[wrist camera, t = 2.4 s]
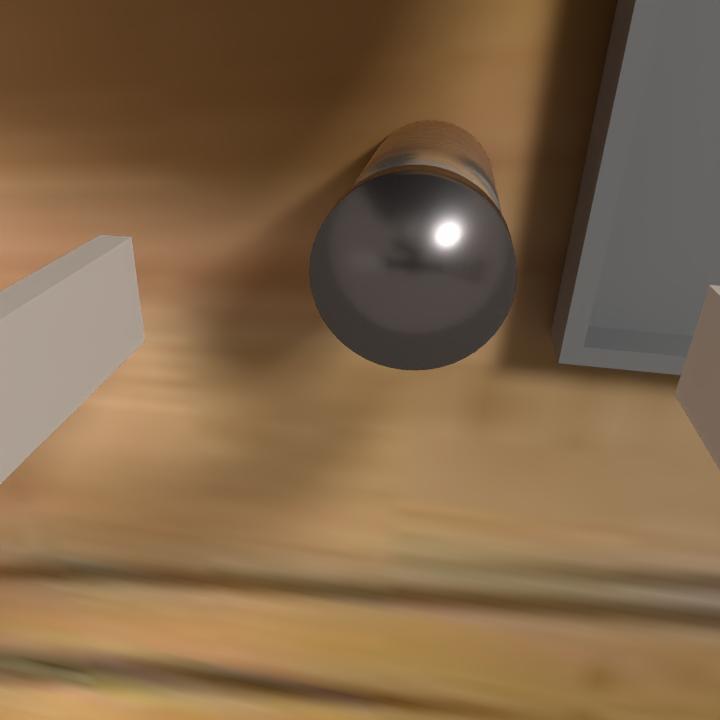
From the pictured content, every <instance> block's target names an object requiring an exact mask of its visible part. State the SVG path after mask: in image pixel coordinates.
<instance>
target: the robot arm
mask: <svg viewBox="0 0 720 720" xmlns="http://www.w3.org/2000/svg"><path fill="white" fill-rule="evenodd" d="M144 342H145V336H144V328H143V321H142V313H141V306H140V298H139V290H138V283H137V275H136V268H135V260H134V252H133V245H132V237H126V236H114V235H102V234H101V235H99V236H97V237H96V238H94V239H92V240H90V241H88V242H87V243H85V244H83V245H81V246H80V247H78V248H76V249H74V250H73V251H71V252H69V253H67V254H66V255H64V256H62V257H60V258H59V259H57V260H55V261H53V262H51V263H50V264H48V265H46V266H44V267H43V268H41V269H39V270H37V271H36V272H34V273H32V274H30V275H29V276H27V277H25V278H23V279H22V280H20V281H18V282H16V283H14V284H13V285H11V286H9V287H7V288H6V289H4V290H2V291H0V484H1V483H2V482H3V481H4V480H5V479H6V478H7V477H8V476H9V475H10V474H11V473H12V472H13V471H14V470H15V469H16V468H17V467H18V466H19V465H20V464H21V463H22V462H23V461H24V460H25V459H26V458H27V457H28V456H29V455H30V454H31V453H32V452H33V451H34V450H35V449H36V448H37V447H38V446H39V445H40V444H41V443H42V442H43V441H44V440H45V439H46V438H47V437H49V436H50V435H51V434H52V433H53V432H54V431H55V430H56V429H57V428H58V427H59V426H60V425H61V424H62V423H63V422H64V421H65V420H66V419H67V418H68V417H69V416H70V415H71V414H72V413H73V412H74V411H75V410H76V409H77V408H78V407H79V406H80V405H81V404H82V403H83V402H84V401H85V400H86V399H87V398H88V397H89V396H90V395H91V394H92V393H93V392H94V391H95V390H96V389H97V388H98V387H99V386H100V385H101V384H102V383H103V382H104V381H105V380H106V379H107V378H108V377H109V376H110V375H111V374H112V373H113V372H114V371H115V370H116V369H117V368H118V367H119V366H120V365H121V364H122V363H123V362H124V361H126V360H127V359H128V358H129V357H130V356H131V355H132V354H133V353H134V352H135V351H136V350H137V349H138V348H139V347H140V346H141V345H142V344H143V343H144ZM675 396H676V397H677V399H678V401H679V402H680V404H681V406H682V408H683V409H684V411H685V413H686V414H687V416H688V418H689V419H690V421H691V423H692V424H693V426H694V428H695V429H696V431H697V433H698V434H699V436H700V438H701V440H702V441H703V443H704V445H705V446H706V448H707V450H708V451H709V453H710V455H711V456H712V458H713V460H714V461H715V463H716V465H717V467H718V468H719V470H720V286H716V285H709V288H708V291H707V294H706V297H705V300H704V303H703V307H702V310H701V313H700V316H699V319H698V322H697V326H696V329H695V332H694V335H693V338H692V341H691V345H690V348H689V351H688V354H687V357H686V360H685V363H684V367H683V370H682V373H681V376H680V379H679V382H678V386H677V389H676V392H675Z"/></svg>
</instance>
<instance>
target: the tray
mask: <svg viewBox="0 0 720 720" xmlns="http://www.w3.org/2000/svg"><path fill="white" fill-rule="evenodd" d="M709 285H716V286H720V0H618V1H617V6H616V11H615V16H614V20H613V25H612V30H611V35H610V40H609V45H608V50H607V55H606V60H605V65H604V70H603V75H602V80H601V85H600V90H599V95H598V100H597V105H596V110H595V115H594V120H593V125H592V130H591V135H590V140H589V145H588V150H587V154H586V159H585V164H584V169H583V174H582V179H581V184H580V189H579V194H578V199H577V204H576V209H575V214H574V219H573V224H572V229H571V234H570V239H569V244H568V249H567V254H566V259H565V264H564V269H563V274H562V279H561V284H560V288H559V293H558V298H557V303H556V308H555V313H554V318H553V323H552V328H551V333H550V336H551V339H552V343H553V346H554V350H555V353H556V357H557V360H558V363H561V364H571V365H581V366H592V367H602V368H612V369H622V370H632V371H642V372H653V373H663V374H673V375H681V373H682V370H683V367H684V363H685V360H686V357H687V354H688V351H689V348H690V345H691V341H692V338H693V335H694V332H695V329H696V326H697V322H698V319H699V316H700V313H701V310H702V307H703V303H704V300H705V297H706V294H707V291H708V288H709Z"/></svg>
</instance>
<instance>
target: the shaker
mask: <svg viewBox="0 0 720 720" xmlns="http://www.w3.org/2000/svg"><path fill="white" fill-rule="evenodd" d="M516 279H517V269H516V259H515V254H514V249H513V245H512V240H511V236H510V233H509V230H508V227H507V224H506V222H505V220H504V218H503V216H502V213H501V209H500V204H499V199H498V195H497V190H496V185H495V181H494V176H493V171H492V167H491V164H490V161H489V158H488V156H487V154H486V152H485V150H484V149H483V148H482V146H481V145H480V143H479V142H478V141H477V140H476V139H475V138H474V137H473V136H472V135H471V134H469V133H468V132H467V131H465V130H463V129H462V128H460V127H458V126H456V125H453V124H451V123H447V122H443V121H436V120H426V121H419V122H415V123H411V124H408V125H406V126H404V127H401V128H400V129H398V130H396V131H395V132H393V133H392V134H391V135H390V136H388V137H387V138H386V139H385V140H384V141H383V142H382V143H381V144H380V146H379V147H378V149H377V150H376V151H375V153H374V154H373V156H372V157H371V159H370V160H369V162H368V163H367V165H366V166H365V168H364V169H363V171H362V172H361V174H360V175H359V177H358V178H357V180H356V181H355V183H354V184H353V186H352V188H350V189H349V190H348V191H347V192H346V193H345V194H344V195H343V196H342V197H341V198H340V199H339V201H338V202H337V204H336V205H335V206H334V208H333V209H332V211H331V212H330V213H329V215H328V216H327V218H326V219H325V221H324V222H323V224H322V226H321V228H320V230H319V232H318V234H317V236H316V239H315V242H314V245H313V248H312V253H311V258H310V284H311V289H312V294H313V298H314V300H315V303H316V306H317V309H318V311H319V313H320V315H321V317H322V319H323V320H324V322H325V323H326V325H327V326H328V328H329V329H330V330H331V331H332V333H333V334H334V335H335V336H336V337H337V338H338V339H339V340H340V341H341V342H342V343H343V344H344V345H345V346H346V347H348V348H349V349H351V350H352V351H353V352H355V353H356V354H358V355H360V356H362V357H363V358H365V359H367V360H369V361H372V362H374V363H377V364H379V365H383V366H386V367H390V368H395V369H402V370H428V369H434V368H439V367H443V366H446V365H449V364H452V363H455V362H457V361H459V360H461V359H464V358H466V357H467V356H469V355H470V354H472V353H474V352H475V351H477V350H478V349H479V348H480V347H482V346H483V345H484V344H485V343H486V342H487V341H488V340H489V339H490V338H491V337H492V336H493V335H494V334H495V333H496V331H497V330H498V329H499V327H500V326H501V325H502V323H503V321H504V319H505V318H506V316H507V314H508V312H509V309H510V307H511V304H512V302H513V298H514V293H515V289H516Z"/></svg>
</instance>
